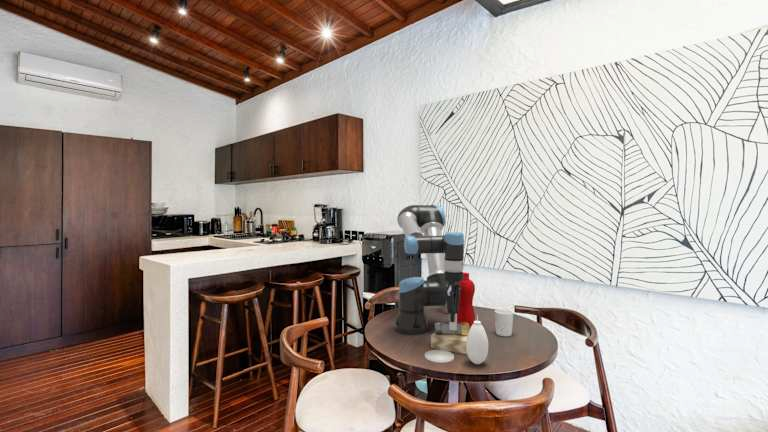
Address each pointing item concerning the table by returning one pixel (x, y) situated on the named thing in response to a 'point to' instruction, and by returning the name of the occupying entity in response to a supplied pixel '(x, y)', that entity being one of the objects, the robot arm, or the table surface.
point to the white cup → (503, 322)
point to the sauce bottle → (477, 343)
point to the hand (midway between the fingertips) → (453, 329)
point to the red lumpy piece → (466, 301)
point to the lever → (444, 329)
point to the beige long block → (449, 342)
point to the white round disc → (439, 356)
